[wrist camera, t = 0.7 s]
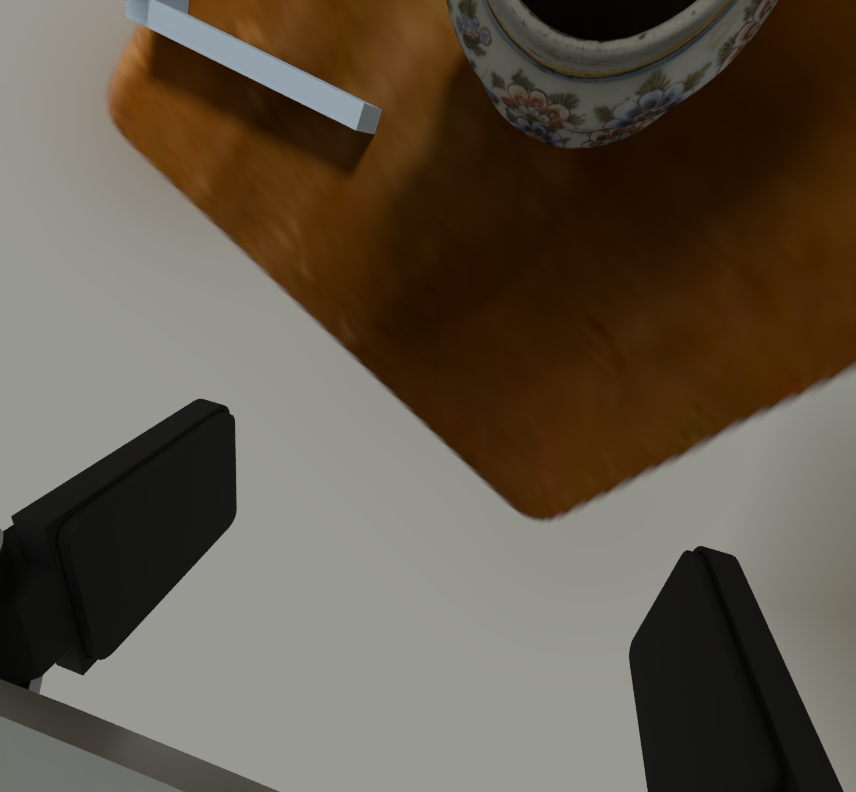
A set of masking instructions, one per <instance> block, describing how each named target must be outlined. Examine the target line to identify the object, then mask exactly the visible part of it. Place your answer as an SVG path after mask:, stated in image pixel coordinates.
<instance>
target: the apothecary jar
mask: <svg viewBox="0 0 856 792" xmlns="http://www.w3.org/2000/svg"><path fill="white" fill-rule="evenodd" d="M777 2H778V0H447V5H448V9H449V13H450V17H451V21H452V24H453V27H454V30H455V33H456V36H457V38H458V41H459V43H460V45H461V47H462V49H463V51H464V53H465V55H466V57H467V59H468V60H469V62H470V64H471V66H472V68H473V69H474V71H475V72H476V74H477V75H478V76H479V78H480V79H481V80H482V83H483V85H484V87H485V90H486V92H487V94H488V96H489V98H490V99H491V101H492V103H493V104H494V106H495V107H496V108H497V110H498V111H499V112H500V113H501V114H502V116H503V117H504V118H505V119H506V120H507V121H508V122H509V123H510V124H511V125H513V126H514V127H515V128H516V129H518V130H519V131H521V132H522V133H524V134H525V135H527V136H529V137H531V138H533V139H535V140H537V141H539V142H542V143H545V144H548V145H552V146H557V147H563V148H572V149H582V148H591V147H598V146H603V145H607V144H611V143H614V142H617V141H620V140H622V139H625V138H627V137H629V136H631V135H633V134H635V133H637V132H638V131H640V130H642V129H643V128H645V127H647V126H648V125H650V124H651V123H652V122H654V121H655V120H657V119H658V118H659V117H660V116H662V115H663V114H664V113H665V112H667V111H668V110H669V109H670V108H672V107H674V106H675V105H677V104H679V103H680V102H682V101H684V100H685V99H687V98H688V97H690V96H691V95H693V94H694V93H695V92H697V91H698V90H699V89H701V88H702V87H703V86H705V85H706V84H707V83H708V82H710V81H711V80H712V79H713V78H715V77H716V76H717V75H718V74H719V73H720V72H721V71H722V70H723V69H724V68H725V67H726V66H727V65H728V64H729V63H730V62H731V61H732V60H733V59H734V58H735V57H736V56H737V55H738V54H739V53H740V52H741V50H742V49H743V48H744V47H745V46H746V45H747V44H748V42H749V41H750V40H751V39H752V38H753V36H754V35H755V34H756V32H757V31H758V30H759V29H760V27H761V26H762V24H763V23H764V22H765V20H766V19H767V17H768V16H769V14H770V13H771V11H772V10H773V8H774V7H775V5H776V3H777Z"/></svg>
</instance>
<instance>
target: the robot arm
mask: <svg viewBox="0 0 856 792" xmlns="http://www.w3.org/2000/svg"><path fill="white" fill-rule="evenodd" d="M235 451H236V449H235V419H234V417H233V415H231V414H230V413H229V410H228V407H226V406H224V405H221V404H218V403H215V402H211V401H208V400H204V399H197V400H195V401H193V402H192V403H190V404H189V405H187V406H185V407H184V408H182V409H181V410H179V411H177V412H176V413H174V414H173V415H171V416H169V417H168V418H166V419H165V420H163V421H162V422H160V423H158V424H157V425H155V426H154V427H152V428H150V429H149V430H147V431H146V432H144V433H143V434H141V435H139V436H138V437H136V438H135V439H133V440H131V441H130V442H128V443H127V444H125V445H123V446H122V447H120V448H119V449H117V450H116V451H114V452H112V453H111V454H109V455H108V456H106V457H104V458H103V459H101V460H100V461H98V462H96V463H95V464H93V465H92V466H90V467H89V468H87V469H85V470H84V471H82V472H81V473H79V474H77V475H76V476H74V477H73V478H71V479H70V480H68V481H66V482H65V483H63V484H62V485H60V486H59V487H57V488H55V489H54V490H52V491H51V492H49V493H47V494H46V495H44V496H43V497H41V498H39V499H38V500H36V501H35V502H33V503H31V504H30V505H28V506H27V507H25V508H24V509H22V510H20V511H19V512H17V513H16V514H14V515H13V516H12V520H13V523H14V525H12V526H11V527H9V528H8V529H6V530H5V531H2V530H1V529H0V792H279V791H276V790H274V789H271V788H269V787H267V786H264V785H262V784H259V783H257V782H255V781H252V780H250V779H247V778H245V777H243V776H240V775H238V774H235V773H233V772H230V771H228V770H226V769H223V768H221V767H218V766H216V765H213V764H211V763H209V762H206V761H204V760H201V759H199V758H196V757H194V756H191V755H189V754H186V753H184V752H182V751H179V750H177V749H174V748H172V747H169V746H167V745H164V744H162V743H160V742H157V741H155V740H152V739H150V738H147V737H145V736H142V735H140V734H137V733H135V732H132V731H130V730H128V729H125V728H123V727H120V726H118V725H115V724H113V723H111V722H108V721H106V720H103V719H101V718H98V717H96V716H93V715H91V714H88V713H86V712H84V711H81V710H78V709H76V708H74V707H71V706H69V705H66V704H64V703H61V702H59V701H56V700H53V699H51V698H48V697H46V696H43V695H40V694H39V693H40V688H41V683H42V678H43V674H44V673H45V672H46V671H47V670H48V669H49V668H50V667H52V666H53V665H54V664H55V663H56V664H57V665H58V666H61V667H63V668H66V669H68V670H71V671H73V672H76V673H78V674H81V675H84V674H85V673H86V672H87V671H88V670H89V668H90V667H91V666H92V665H93V664H94V663H95V662H96V661H97V660H98V659H99V660H102V659H105V658H107V657H108V656H110V655H111V654H112V653H113V652H114V651H115V650H116V649H117V648H118V647H119V646H120V644H122V642H123V641H124V640H125V639H126V638H127V637H128V636H129V635H130V634H131V633H132V632H133V631H134V630H135V628H136V627H137V626H138V625H139V624H140V623H141V622H142V621H143V620H144V618H145V617H147V615H148V614H149V613H150V612H151V611H152V610H153V609H154V608H155V607H156V606H157V605H158V604H159V603H160V601H161V600H162V599H163V598H164V597H165V596H166V595H167V594H168V593H169V592H170V591H171V590H172V588H173V587H174V586H175V585H176V584H177V583H178V582H179V581H180V580H181V579H182V578H183V576H185V574H186V573H187V572H188V571H189V570H190V569H191V568H192V567H193V566H194V565H195V564H196V563H197V562H198V560H199V559H200V558H201V557H202V556H203V555H204V554H205V553H206V552H207V551H208V549H210V547H211V546H212V545H213V544H214V543H215V542H216V541H217V540H218V539H219V538H220V537H221V535H223V533H224V532H225V531H226V530H227V529H228V528H229V527H230V525H231V524H232V522H233V520H234V518H235V516H236V510H237V508H236V507H237V506H236V453H235ZM629 662H630V669H631V676H632V683H633V690H634V697H635V704H636V711H637V718H638V725H639V732H640V739H641V747H642V753H643V761H644V768H645V774H646V782H647V789H648V792H843V790H842V787H841V785H840V783H839V781H838V779H837V776H836V774H835V772H834V770H833V768H832V765H831V763H830V761H829V759H828V757H827V755H826V752H825V750H824V748H823V746H822V743H821V741H820V739H819V737H818V735H817V733H816V730H815V728H814V726H813V724H812V722H811V719H810V717H809V715H808V713H807V711H806V709H805V706H804V704H803V702H802V700H801V697H800V695H799V693H798V691H797V689H796V687H795V684H794V682H793V680H792V678H791V676H790V673H789V671H788V669H787V667H786V665H785V663H784V660H783V658H782V656H781V654H780V652H779V649H778V647H777V645H776V643H775V640H774V638H773V636H772V634H771V632H770V630H769V628H768V625H767V623H766V621H765V619H764V616H763V614H762V612H761V610H760V608H759V605H758V603H757V601H756V599H755V597H754V595H753V592H752V590H751V588H750V586H749V584H748V581H747V579H746V577H745V575H744V573H743V570H742V568H741V566H740V564H739V562H738V560H737V559H736V557H734V556H733V555H730V554H727V553H723V552H720V551H717V550H713V549H710V548H707V547H703V546H698V547H697V548H695V549H694V551H693V552H692V551H688V550H686V551H685V552H684V553H683V554H682V555H681V557H680V559H679V560H678V562H677V564H676V566H675V567H674V569H673V571H672V572H671V574H670V576H669V578H668V579H667V581H666V583H665V585H664V587H663V588H662V590H661V591H660V593H659V595H658V597H657V599H656V600H655V602H654V604H653V606H652V607H651V609H650V611H649V612H648V614H647V616H646V617H645V619H644V621H643V623H642V624H641V626H640V628H639V630H638V631H637V633H636V635H635V637H634V638H633V640H632V642H631V646H630V652H629Z"/></svg>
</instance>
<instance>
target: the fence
mask: <svg viewBox="0 0 856 792" xmlns="http://www.w3.org/2000/svg"><path fill="white" fill-rule="evenodd" d="M189 1H190V0H127V1H126V14H125V17H127V18H129V19H131V20H133V21H135V22H137V23H139V24H141V25H143V26H145V27H147V28H149V29H151V30H154V31H156V32H158V33H160V34H162V35H164V36H166V37H168V38H170V39H172V40H174V41H176V42H178V43H180V44H182V45H184V46H186V47H188V48H190V49H192V50H194V51H196V52H198V53H200V54H202V55H204V56H206V57H208V58H210V59H212V60H214V61H216V62H218V63H220V64H222V65H224V66H226V67H228V68H230V69H232V70H235V71H237V72H239V73H241V74H243V75H245V76H247V77H249V78H251V79H253V80H255V81H257V82H259V83H261V84H263V85H265V86H267V87H269V88H271V89H273V90H275V91H277V92H279V93H281V94H283V95H285V96H287V97H289V98H291V99H293V100H295V101H297V102H299V103H301V104H303V105H305V106H307V107H309V108H311V109H313V110H315V111H318V112H320V113H322V114H324V115H326V116H328V117H330V118H332V119H334V120H336V121H338V122H340V123H342V124H344V125H346V126H348V127H350V128H352V129H354V130H356V131H361V132H365V133H370V134H374V135H375V132H376V129H377V125H378V122H379V119H380V116H381V113H382V110H381V109H379V108H377V107H375V106H373V105H371V104H369V103H367V102H365V101H363V100H361V99H359V98H357V97H355V96H353V95H351V94H349V93H347V92H345V91H343V90H341V89H339V88H337V87H335V86H333V85H331V84H329V83H326V82H324V81H322V80H320V79H318V78H316V77H314V76H312V75H310V74H308V73H306V72H304V71H302V70H300V69H298V68H296V67H294V66H292V65H290V64H288V63H286V62H284V61H282V60H280V59H278V58H276V57H274V56H272V55H270V54H268V53H265V52H263V51H261V50H259V49H257V48H255V47H253V46H251V45H249V44H247V43H245V42H243V41H241V40H239V39H237V38H235V37H233V36H231V35H229V34H227V33H225V32H223V31H221V30H219V29H217V28H215V27H213V26H211V25H209V24H206V23H204V22H202V21H200V20H198V19H196V18H194V17H192V16H190V15H188V8H189Z"/></svg>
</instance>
